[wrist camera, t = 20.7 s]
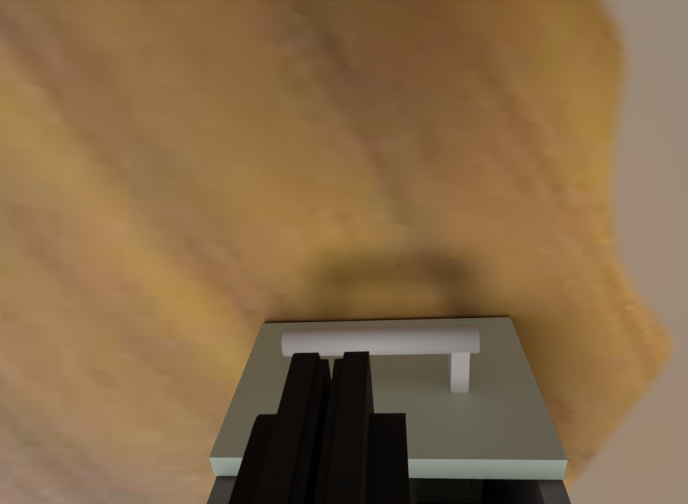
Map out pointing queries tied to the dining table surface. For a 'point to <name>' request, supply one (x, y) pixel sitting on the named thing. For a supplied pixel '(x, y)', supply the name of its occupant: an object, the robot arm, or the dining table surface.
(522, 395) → the drawer
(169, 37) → the dining table surface
